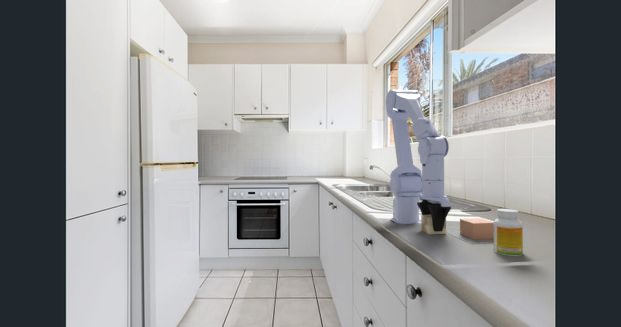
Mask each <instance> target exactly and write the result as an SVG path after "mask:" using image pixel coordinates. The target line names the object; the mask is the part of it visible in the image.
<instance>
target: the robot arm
mask: <svg viewBox="0 0 621 327" xmlns="http://www.w3.org/2000/svg"><path fill="white" fill-rule="evenodd" d="M420 104H421V95H420V93H419V90H417V89H413V90H411V89H410V90H409V89H390V90H389V91H388V92H387V94H386V98H385V107H386V108H385V109H386V114H387V117H388V118H390V119H391V124H392V133H393V139H394V140H393V141H394V142H393V143H394V146H395V147H394V148H395V155H396V163H397V164H396V165H397V167H396V168H394V169H393V170H392V171H391V173H390V182H389V188H390V191H391V192H392V194H393V195H394V198H393V200H392V217H391V218H390V221H392V222H394V223H395V224H396V223H398V224H401V225H406V224H407V225H408V224H409V225H410V224H411V225H412V224H421V220H420V213H421V215H431V216H432V223H433V229H434V231H435V232H437V231H442V230H443V227H444V223H445V219H446V220H447V217H448V214H449V213H450V212H451V210H452V206H451V198H449V195H445V157H447V155H448V153H449V148H450V145H449V141H448V139H447V137H446V136H445V135H442V134H439V133H438V131H437V130H436V128H435V126H434V124H433V123H432V121H431V119H430V118H427V117H425V115H424V112H423V111H422V107H421V105H420ZM409 119H410V120H411V122H412V125H411V130H412V132H413V134H414V136H415V138H416V140H417V142H418V146H417V152H418V155H419V162H420V164H421V169H420V168H418V167H417V166H415V165H414V161H413V154H412V148H411V147H412V145H411V141H410V139H411V138H410V132H409V126H408V120H409Z"/></svg>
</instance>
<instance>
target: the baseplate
mask: <svg viewBox="0 0 621 327" xmlns="http://www.w3.org/2000/svg"><path fill="white" fill-rule="evenodd" d="M446 234H448V235H449V236H453V238H456V239H459V240H461V241H464V242H465V243H468V244H470V245H482V244H483V245H484V244H485V245H487V244H488V245H490V244H494V239H471V238H469V237H467V236H464V235H462V234H460V229H459V230H458V229H455V230H452V229H451V230H450V229H449V230H446Z"/></svg>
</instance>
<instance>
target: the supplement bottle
mask: <svg viewBox="0 0 621 327" xmlns="http://www.w3.org/2000/svg"><path fill="white" fill-rule="evenodd" d="M519 213H520V212H519V210H518V209H510V208H497V209H496V217H498V218H495V219H494V221H493V222H494V224H493V227H494V243H493V252H494V253H497V254H500V255H503V256H512V257H519V256H520V257H521V256H523V255H524V251H523V250H524V249H523V248H524V246H523V243H524V242H523V240H524V238H523V237H524V236H523V234H524V233H523V229H524V228H523V222H521V220H519V219H518V218H519V216H520V214H519Z"/></svg>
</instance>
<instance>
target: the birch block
mask: <svg viewBox="0 0 621 327" xmlns="http://www.w3.org/2000/svg"><path fill="white" fill-rule="evenodd" d="M420 217H421V220H420V221H421V223H420V224H421V225H420V226H421V229H420V231H422V232H423V233H425V234H428V235H446V234H447V233H446V231H447V218H446V219H445V223H444V227H443V230H442V231H437V232H435V231H434V229H433V223H432V216H431V215H422V214H421V216H420Z"/></svg>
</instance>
